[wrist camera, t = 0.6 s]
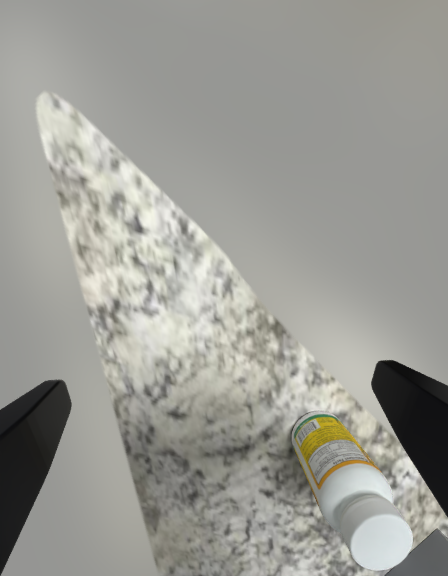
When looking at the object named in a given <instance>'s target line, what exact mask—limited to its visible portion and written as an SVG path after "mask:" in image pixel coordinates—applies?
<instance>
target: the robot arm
mask: <svg viewBox="0 0 448 576" xmlns="http://www.w3.org/2000/svg"><path fill="white" fill-rule="evenodd" d="M371 385H372V389H373V392H374V394H375V395H376V398H377V399H378V401H379V403H380V405H381V407H382V409H383V411H384V413H385V415H386V417H387V418H388V421H389V423H390V424H391V426H392V428H393V430H394V432H395V434H396V436H397V438H398V439H399V441H400V443H401V445H402V446H403V448H404V449H405V451H406V453H407V454H408V456H409V457H410V459H411V461H412V462H413V464H414V465H415V467H416V468H417V470H418V472H419V473H420V475H421V476H422V478H423V479H424V481H425V483H426V484H427V486H428V487H429V489H430V490H431V492H432V494H433V495H434V497H435V498H436V500H437V501H438V503H439V505H440V506H441V508H442V509H443V511H444V513H445V514H446V516H447V517H448V386H447V385H445V384H443V383H441V382H439V381H436V380H435V379H432V378H430V377H428V376H426V375H424V374H422V373H420V372H418V371H415V370H413V369H411V368H409V367H407V366H405V365H403V364H400V363H398V362H396V361H393V360H383V361H379V362H378V363H377V364H376V367H375V371H374V374H373V378H372V382H371ZM70 410H71V399H70V396H69V393H68V390H67V386H66V384H65V382H64V381H63V380H48V381H45V382H43V383H41V384H40V385H38V386H37V387H35V388H34V389H32V390H31V391H29V392H28V393H26V394H24V395H23V396H21V397H20V398H18V399H16V400H15V401H13V402H12V403H10V404H9V405H7V406H6V407H4V408H2V409H1V410H0V575H1V573H2V571H3V569H4V567H5V565H6V563H7V561H8V558H9V556H10V554H11V552H12V550H13V548H14V546H15V543H16V541H17V539H18V537H19V535H20V532H21V530H22V528H23V526H24V524H25V522H26V519H27V518H28V515H29V513H30V511H31V509H32V507H33V505H34V502H35V500H36V498H37V496H38V494H39V491H40V489H41V487H42V485H43V483H44V481H45V478H46V476H47V474H48V471H49V469H50V467H51V464H52V461H53V459H54V456H55V453H56V450H57V448H58V444H59V442H60V439H61V436H62V433H63V431H64V428H65V425H66V422H67V419H68V417H69V414H70Z"/></svg>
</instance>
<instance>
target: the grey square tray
mask: <svg viewBox="0 0 448 576" xmlns="http://www.w3.org/2000/svg"><path fill="white" fill-rule="evenodd" d="M385 576H448V538H447V537H446V536H445V535H444V534H443V533H441V532H440V531H439V530H438V529H436V530H435V531H434V532H433V533H432V534H431V535H430V536H428V537H427V538H426V539H425V540H424V541H423V542H422V543H421V544H420V545H418V546H417V547H416V548H415V549H414V550H413V551H412V552H411V553H410V554H408V555H407V557H406V558H405V559H404V560H403V561H402V562H401V563H399V564H398V565H396V566H395V567H394V568H393V569H392V570H391V571H390V572H389V573H387V574H386V575H385Z"/></svg>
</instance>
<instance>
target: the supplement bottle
mask: <svg viewBox="0 0 448 576" xmlns="http://www.w3.org/2000/svg"><path fill="white" fill-rule="evenodd" d="M292 445H293V448H294V450H295V453H296V455H297V457H298V460H299V462H300V464H301V466H302V469H303V471H304V473H305V476H306V478H307V480H308V483H309V485H310V487H311V490H312V492H313V494H314V497H315V499H316V501H317V504H318V506H319V508H320V511H321V513H322V515H323V517H324V518H325V520H326V521H327V522H328V524H329V525H330V526H331V527H333V528H334V529H335V530H336V531H338V532H340V533H341V534H342V537H343V540H344V541H345V543H346V545H347V547H348V549H349V551H350V553H351V555H352V557H353V558H354V560H355V561H356V562H357V563H358V564H359V565H360V566H362V567H364V568H366V569H369V570H377V571H379V570H386V569H389V568H392V567H394V566H396V565H398V564H399V563H401V562H402V561H403V560H404V559H405V558H406V557H407V555H408V553H409V552H410V550H411V547H412V543H413V536H412V531H411V529H410V527H409V525H408V523H407V522H406V521H405V519H404V518H403V516H402V515H401V514H400V512H399V510H398V509H397V508H396V507H395V506H394V505H393V494H392V490H391V487H390V485H389V483H388V481H387V480H386V478H385V477H384V475H383V474H382V473H381V471H380V470H379V469H378V467H377V466H376V465H375V464H374V462H373V461H372V460H371V459H370V457H369V456H368V455H367V454H366V452H365V451H364V450H363V449H362V447H361V446H360V445H359V444H358V442H357V441H356V440H355V439H354V437H353V436H352V435H351V434H350V432H349V431H348V430H347V429H346V427H345V426H344V425H343V424H342V423H341V421H340V420H339V419H338V418H337V417H336V416H334V415H333V414H331V413H329V412H324V411H315V412H311V413H308V414H306V415H304V416H303V417H302V418H300V419H299V420H298V422H297V423H296V424H295V426H294V428H293V431H292Z"/></svg>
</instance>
